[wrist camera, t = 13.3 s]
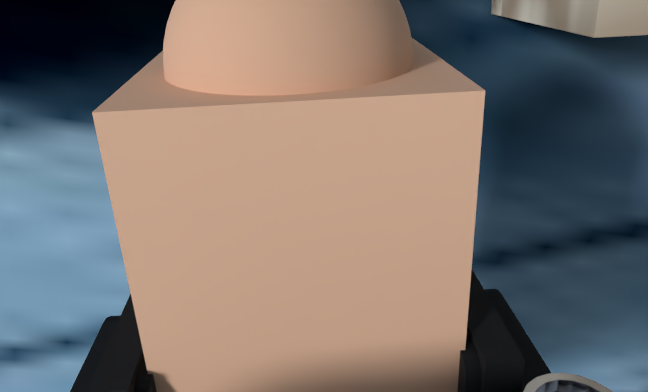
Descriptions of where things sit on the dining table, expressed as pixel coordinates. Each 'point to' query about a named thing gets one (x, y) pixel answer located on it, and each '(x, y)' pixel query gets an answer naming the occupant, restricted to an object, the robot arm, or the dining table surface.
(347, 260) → the dome-capped square column
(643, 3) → the crate
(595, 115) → the dining table surface
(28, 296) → the dining table surface
